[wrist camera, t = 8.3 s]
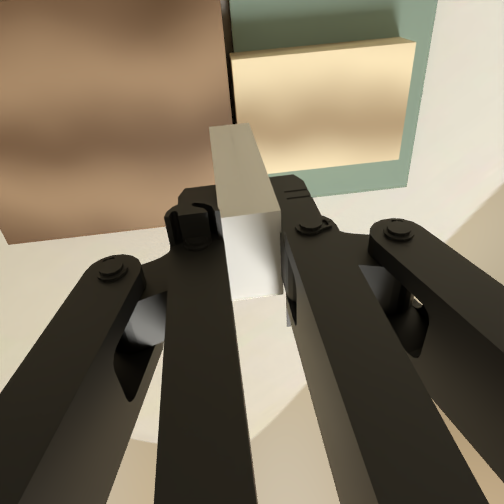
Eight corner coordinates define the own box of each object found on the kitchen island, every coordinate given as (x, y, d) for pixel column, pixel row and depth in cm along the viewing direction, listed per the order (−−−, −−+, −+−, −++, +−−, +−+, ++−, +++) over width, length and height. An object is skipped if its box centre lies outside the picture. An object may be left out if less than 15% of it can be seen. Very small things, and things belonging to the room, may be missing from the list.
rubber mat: (227, -20, 19) (227, -20, 19) (439, -39, 20) (444, -39, 19) (246, 201, 26) (247, 205, 26) (403, 183, 27) (406, 186, 26)
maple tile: (229, 53, 21) (231, 60, 19) (399, 36, 21) (416, 42, 19) (239, 162, 24) (242, 176, 22) (385, 146, 25) (398, 159, 23)
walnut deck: (-85, 7, 19) (-112, 11, 17) (216, -20, 19) (218, -18, 18) (20, 227, 26) (8, 244, 24) (239, 202, 26) (241, 217, 25)
